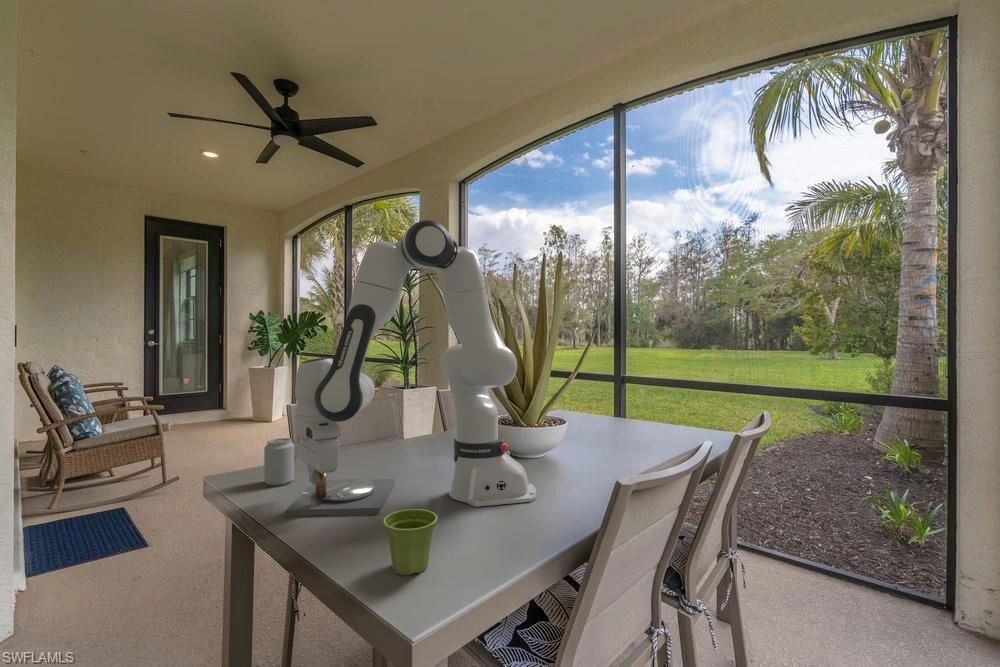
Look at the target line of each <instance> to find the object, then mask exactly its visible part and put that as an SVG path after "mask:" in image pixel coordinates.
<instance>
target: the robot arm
mask: <svg viewBox="0 0 1000 667" xmlns="http://www.w3.org/2000/svg"><path fill="white" fill-rule="evenodd" d="M431 269H432V270H433V271H434V272H436V273H437V275H438V278H439V280H440V282H441V288H442V294H443V295H442V296H443V302H444V307H445V314H446V319H447V323H448V325H449V327H450V328H451V329H452V330H453V331H454V332H455V334H456V336H457V337H458V339H459V342H460V343H459V344H455V345H451V346H450V347H448V348H446V349H445V350H444V351H443V352H442V354H441V357H440V362H439V368H440V370H441V372H442V374H443V376H445V378H446V380H447V383H448V385H449V389H450V393H451V397H452V400H453V406H454V413H455V414H454V420H455V423H454V424H455V438H453V439H454V441H453V443H452V444H453V446H452V447H453V453H452V454H453V455H452V456H453V461H454V467H453V475H452V481H451V484H450V485H451V486H450V489H449V491H448V492H449V493H448V496H449V497H451V499H454V500H456V501H459V502H462V503H466V504H469V505H470V506H471V507H486V506H488V507H489V506H499V505H507V504H509V505H510V504H518V503H519V504H521V503H531V502H534V500H535V499H536V498H537V489H536V487H535V485H534V484H532V483H531V482H529V481H528V476H527V472H526V470H525V468H524V466H523V465H522V464H521V463H519V462H518V461H517V460H516V459H514V458H513V457H511V456H510V455H509V454H507V452H508V451H509V445H508V443H506V441H505V440H504V439H503V438H502V439H501V438H500V437H499V410H498V407H497V405H496V403H494V401H493V399H492V398H491V395H490V393H489V389H491V388H492V389H494V388H501V387H504V386H507V385H508V384H509V385H510V383H511V382H512V381H513V380H514V379H515V377H516V375H517V373H518V372H517V370H518V360H517V358H516V355H515V354H514V352H513V351H512V350H511V349H510V348H508V346H507V345H506V344H505V343H504V342H503V340H502V338H501V336H500V334H499V332H498V330H497V328H496V326H495V323H494V321H493V318H492V315H491V310H490V304H489V298H488V292H487V286H486V281H485V277H484V272H483V268H482V266H481V263H480V259H479V257H478V255H477V253H476V251H474V249H471V248H470V247H466V246H459V245H458V243H457V242H456V241H455V240H454V238H452V236H451V234H450V233H449V231H448V230H447V229H446V227H445V226H444V225H442V224H441V223H440V222H437V221H435V220H432V219H424V220H419V221H416V222H415V223H413V224H412V225H411V226H410V227H408V229H407V230H406V231H405V232H404V234H403V235H402V237H401V239H399V241H397V242H391V241H386V240H378V241H374V242H372V243H371V244H370V245H368V247H367V249H366V251H365V252H364V254H363V257H362V259H361V262H360V263H359V267H358V270H357V273H356V276H355V277H356V278H355V280H354V283H353V284H354V285H353V289H352V293H351V296H350V302H349V305H348V306H349V307H348V311H347V313H346V320H345V322H344V326H343V328H342V331H341V334H340V337H339V340H338V344H337V346H336V350H335V352H334V357H333V359H332V358H330V357H320V358H319V357H318V358H313V359H307V360H304V361H302V362H300V364H299V365H298V368H297V371H296V377H295V387H294V388H295V389H294V390H295V391H294V394H295V395H294V396H295V399H296V408H295V412H294V443H293V444H294V457H295V458H297V459H298V460H300V461H302V462H303V463H305V464H306V469H307V471H308V479H309V480H308V481H309V483H310V484H311V485H313V484H316V472H317V471H319V472H320V473H322V474H324V473H326V474H330V473H334V472H336V471H337V469H338V467H339V460H340V440H339V438H340V437H342V429H341V427H340V425H339V424H338V422H345V421H349V420H351V418H353V417H355V415H356V414H357V413H359V412H360V411H362V410H363V409H365V408H366V407H367V406H369V405H370V404H371V403H372V402H373V400H374V397H375V395H376V388H375V387H376V386H375V383H374V381H373V379H372V377H370V376H369V375H368V374H367V373H363V372H362V371H363V366H364V362H365V359H366V356H367V354H368V350H369V346H370V343H371V341H372V339H373V338H374V336H375V335H376V333H377V332H378V330H380V329H381V328H382V327H383V326H385V325H386V323H388V322H389V321H391V319H392V318H393V316H394V314H395V312H396V310H397V308H398V305H399V302H400V299H401V294H402V292H403V285H404V283H405V280H406V277H407V274H408V273H409V272H413V271H418V272H419V271H428V270H431Z"/></svg>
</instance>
